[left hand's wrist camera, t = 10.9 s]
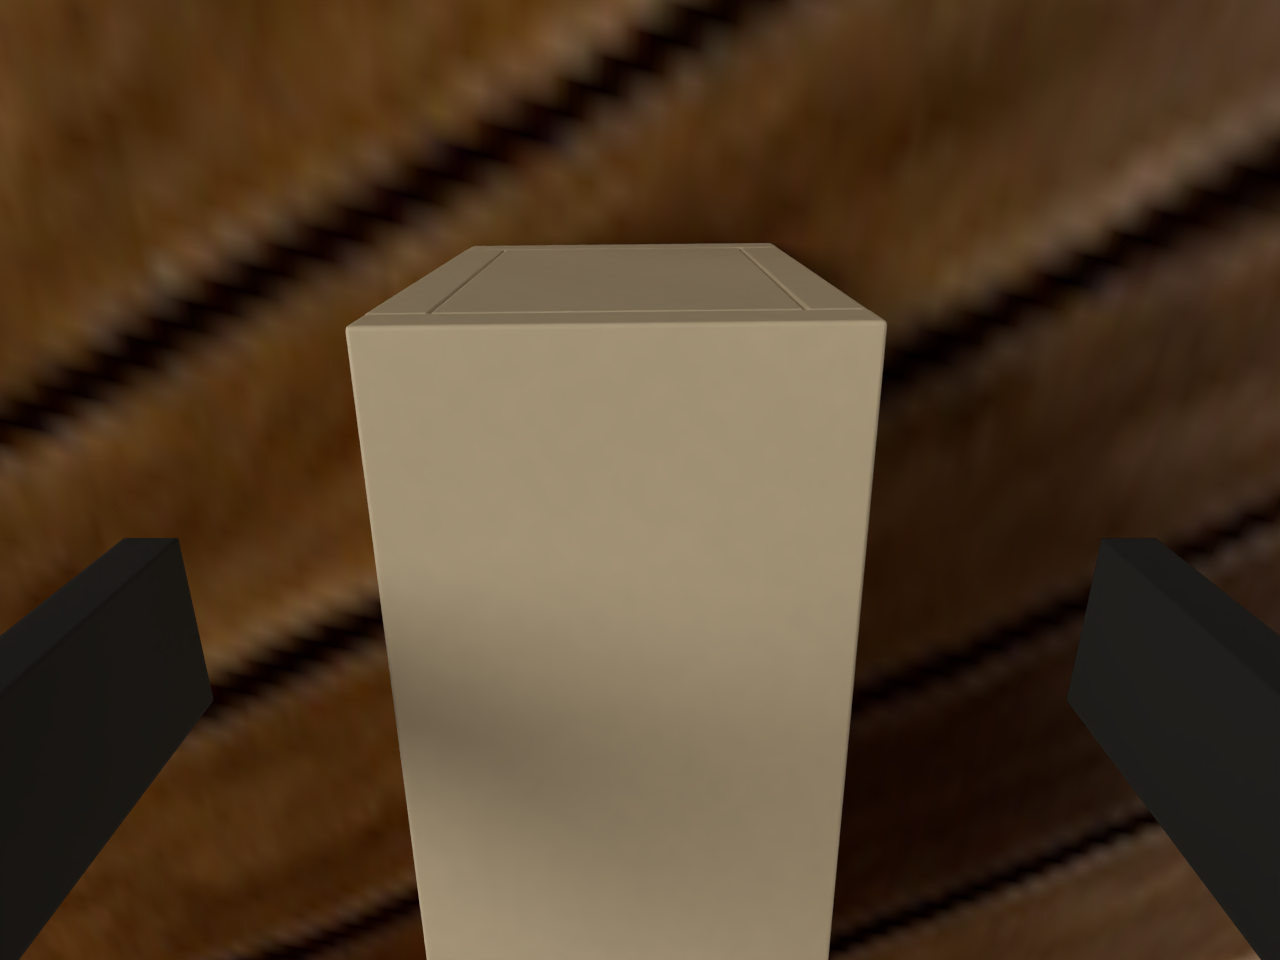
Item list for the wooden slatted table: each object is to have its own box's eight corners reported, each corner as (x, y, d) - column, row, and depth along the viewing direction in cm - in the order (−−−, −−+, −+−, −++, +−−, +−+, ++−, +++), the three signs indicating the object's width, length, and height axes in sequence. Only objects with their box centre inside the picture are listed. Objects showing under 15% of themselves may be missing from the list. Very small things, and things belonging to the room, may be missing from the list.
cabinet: (740, 955, 27) (793, 1337, 18) (524, 959, 27) (475, 1343, 18) (772, 242, 19) (888, 320, 11) (471, 245, 19) (343, 326, 11)
